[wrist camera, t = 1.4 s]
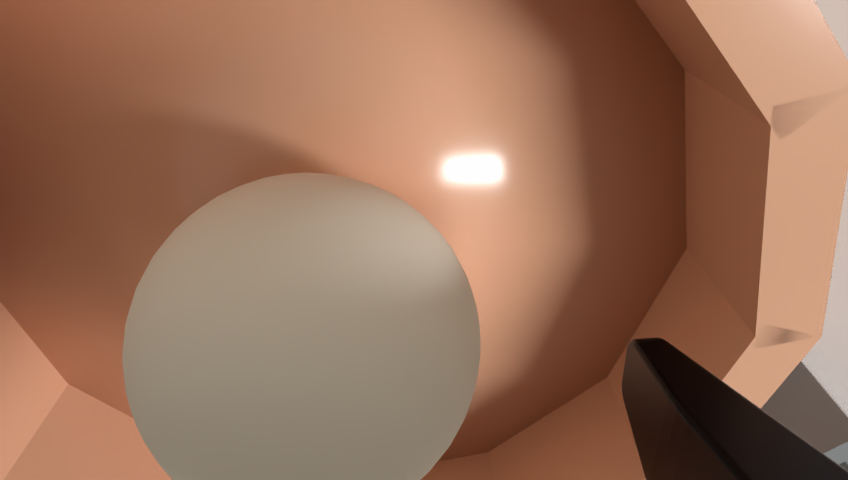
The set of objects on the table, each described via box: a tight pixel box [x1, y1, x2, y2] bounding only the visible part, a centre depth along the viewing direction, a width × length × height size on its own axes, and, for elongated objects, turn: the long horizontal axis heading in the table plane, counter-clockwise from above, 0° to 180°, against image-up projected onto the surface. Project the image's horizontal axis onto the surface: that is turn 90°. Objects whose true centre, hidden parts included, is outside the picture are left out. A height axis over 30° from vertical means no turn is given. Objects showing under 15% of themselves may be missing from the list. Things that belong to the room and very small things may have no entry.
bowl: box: [0, 0, 848, 480], centre depth 10 cm, size 15×15×4 cm
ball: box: [122, 173, 480, 480], centre depth 8 cm, size 5×5×5 cm
